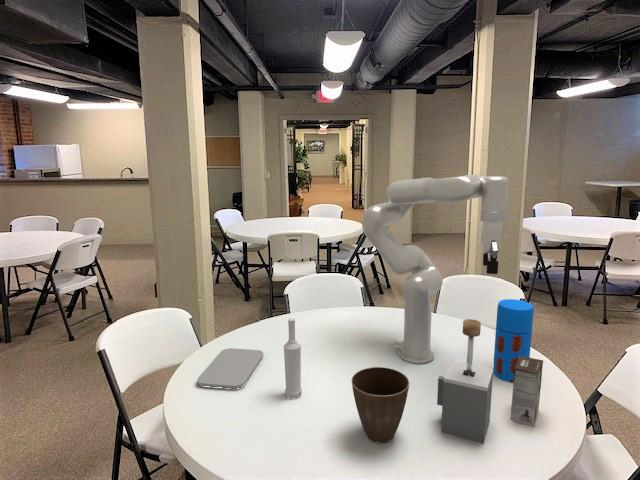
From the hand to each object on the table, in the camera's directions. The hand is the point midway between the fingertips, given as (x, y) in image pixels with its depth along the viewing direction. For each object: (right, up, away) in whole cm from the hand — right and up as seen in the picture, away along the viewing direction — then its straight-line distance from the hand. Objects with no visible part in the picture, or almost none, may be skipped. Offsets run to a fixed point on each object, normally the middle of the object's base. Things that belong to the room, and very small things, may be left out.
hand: (489, 269), depth 145 cm
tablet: (-85, -37, +14) cm, 93 cm away
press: (-15, -42, -19) cm, 48 cm away
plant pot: (-38, -43, -22) cm, 62 cm away
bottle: (-62, -39, -2) cm, 74 cm away
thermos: (+10, -36, +8) cm, 38 cm away
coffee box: (+5, -41, -14) cm, 44 cm away
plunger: (-14, -31, -22) cm, 40 cm away
